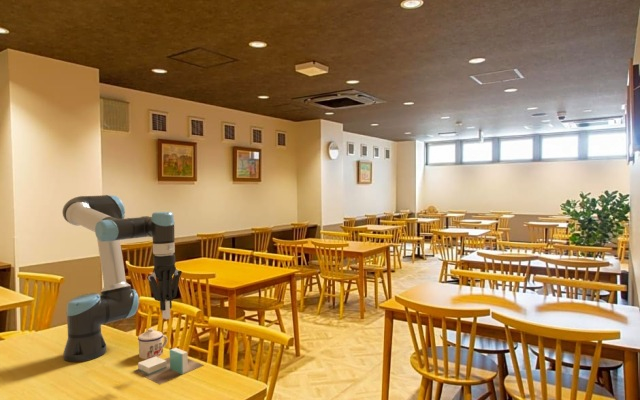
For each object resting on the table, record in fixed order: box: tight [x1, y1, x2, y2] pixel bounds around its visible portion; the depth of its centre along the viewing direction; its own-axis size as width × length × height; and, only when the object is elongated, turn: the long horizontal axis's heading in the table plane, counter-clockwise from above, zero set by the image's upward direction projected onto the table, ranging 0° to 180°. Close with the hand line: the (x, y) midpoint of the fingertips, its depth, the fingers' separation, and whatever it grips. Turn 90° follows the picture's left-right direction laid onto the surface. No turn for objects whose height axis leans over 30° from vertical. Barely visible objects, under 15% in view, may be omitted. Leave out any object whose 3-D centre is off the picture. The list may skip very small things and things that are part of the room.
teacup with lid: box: [137, 327, 168, 360], centre depth 166 cm, size 12×9×12 cm
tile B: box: [169, 347, 189, 375], centre depth 150 cm, size 7×2×7 cm, turn 53°
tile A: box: [137, 356, 167, 375], centre depth 152 cm, size 7×2×7 cm
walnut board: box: [133, 356, 205, 385], centre depth 152 cm, size 17×18×2 cm
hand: (166, 318), depth 155 cm, fingers closed
